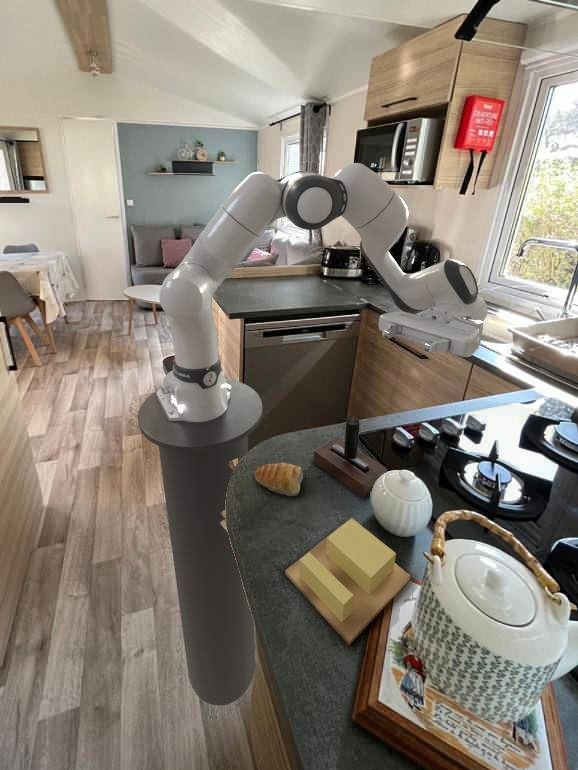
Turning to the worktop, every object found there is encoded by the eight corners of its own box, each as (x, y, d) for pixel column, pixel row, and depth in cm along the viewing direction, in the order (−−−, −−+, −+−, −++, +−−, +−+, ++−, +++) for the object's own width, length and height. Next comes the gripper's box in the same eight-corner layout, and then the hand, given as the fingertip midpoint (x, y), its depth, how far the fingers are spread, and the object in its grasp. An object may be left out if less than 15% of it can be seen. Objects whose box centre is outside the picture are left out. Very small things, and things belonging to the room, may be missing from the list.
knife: (329, 462, 80) (332, 414, 76) (337, 457, 81) (340, 409, 77) (361, 485, 74) (366, 433, 70) (369, 479, 75) (374, 428, 71)
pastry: (250, 490, 73) (250, 474, 72) (258, 466, 80) (258, 451, 78) (299, 499, 71) (299, 483, 70) (303, 474, 77) (304, 459, 76)
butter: (325, 554, 60) (326, 537, 58) (350, 533, 63) (351, 517, 62) (369, 595, 54) (371, 577, 52) (393, 570, 57) (396, 553, 56)
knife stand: (313, 462, 80) (314, 450, 79) (336, 448, 84) (336, 436, 83) (362, 498, 71) (364, 485, 70) (385, 480, 75) (387, 468, 74)
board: (284, 574, 58) (285, 570, 57) (344, 525, 65) (345, 522, 65) (349, 645, 49) (349, 641, 48) (409, 579, 56) (410, 575, 56)
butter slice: (299, 576, 56) (299, 559, 55) (308, 568, 58) (309, 551, 56) (342, 622, 50) (343, 604, 49) (351, 613, 51) (353, 595, 50)
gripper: (399, 301, 92) (364, 313, 85) (492, 324, 77) (458, 341, 69) (396, 325, 94) (361, 339, 87) (485, 352, 79) (453, 372, 71)
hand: (405, 341), depth 78 cm, fingers open, 8 cm apart
